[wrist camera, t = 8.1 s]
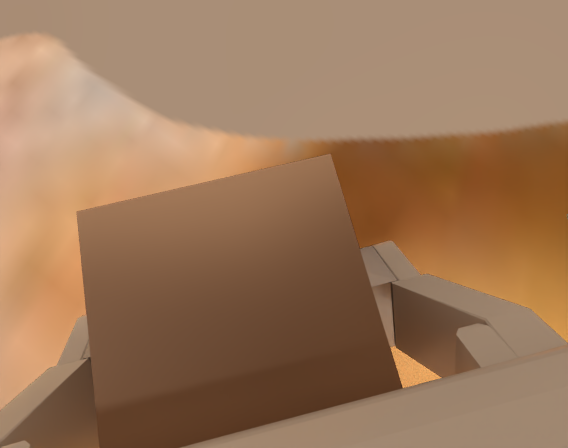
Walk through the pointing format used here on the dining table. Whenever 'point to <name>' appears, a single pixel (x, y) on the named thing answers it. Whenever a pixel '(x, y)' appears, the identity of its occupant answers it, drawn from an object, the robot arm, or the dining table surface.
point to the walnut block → (228, 307)
